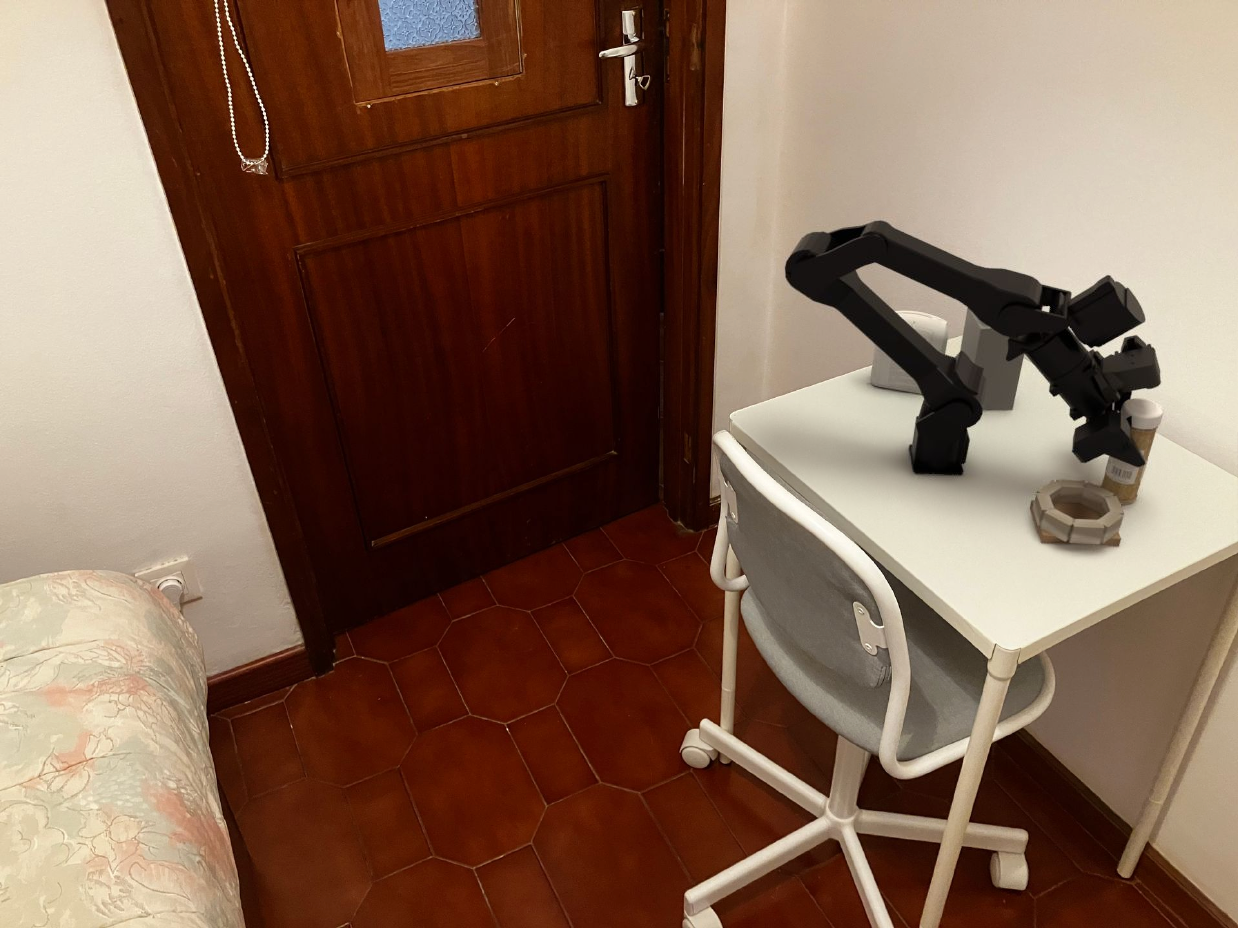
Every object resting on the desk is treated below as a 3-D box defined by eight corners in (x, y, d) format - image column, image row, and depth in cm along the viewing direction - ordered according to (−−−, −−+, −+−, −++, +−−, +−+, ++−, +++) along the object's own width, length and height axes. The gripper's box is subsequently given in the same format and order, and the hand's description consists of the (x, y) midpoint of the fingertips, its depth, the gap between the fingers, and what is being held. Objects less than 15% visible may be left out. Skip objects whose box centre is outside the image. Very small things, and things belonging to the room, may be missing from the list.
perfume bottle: (1012, 409, 148) (1036, 297, 138) (965, 411, 148) (986, 299, 138) (998, 386, 154) (1020, 276, 143) (953, 387, 154) (972, 278, 144)
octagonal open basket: (1041, 549, 123) (1047, 525, 121) (1025, 501, 130) (1031, 478, 128) (1124, 553, 122) (1131, 529, 119) (1103, 504, 129) (1110, 481, 127)
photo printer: (941, 384, 155) (953, 311, 148) (937, 398, 152) (949, 324, 144) (872, 374, 158) (881, 302, 151) (867, 387, 155) (876, 314, 148)
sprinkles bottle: (1143, 497, 130) (1172, 408, 122) (1121, 510, 128) (1149, 420, 121) (1112, 480, 133) (1138, 392, 126) (1090, 492, 131) (1115, 404, 124)
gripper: (1128, 367, 112) (1211, 467, 114) (1128, 295, 126) (1202, 386, 128) (1038, 415, 119) (1118, 508, 122) (1047, 342, 133) (1119, 427, 135)
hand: (1141, 454), depth 127 cm, fingers closed on sprinkles bottle, 4 cm apart
